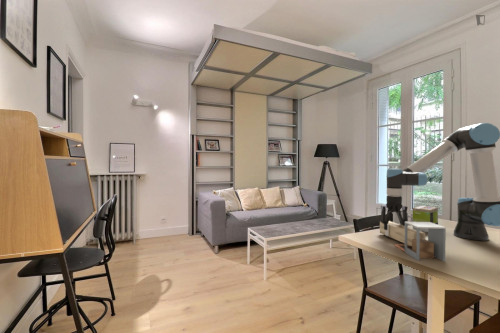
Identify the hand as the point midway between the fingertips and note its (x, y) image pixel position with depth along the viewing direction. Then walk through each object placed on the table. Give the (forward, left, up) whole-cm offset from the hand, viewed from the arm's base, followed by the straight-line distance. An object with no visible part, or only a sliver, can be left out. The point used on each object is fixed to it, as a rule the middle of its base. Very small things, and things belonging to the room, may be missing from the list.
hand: (393, 235), depth 135 cm
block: (0, +25, -2) cm, 25 cm away
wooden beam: (-1, +5, 0) cm, 5 cm away
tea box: (-31, -23, -2) cm, 39 cm away
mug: (-19, -25, -2) cm, 32 cm away
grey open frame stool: (0, +22, -2) cm, 22 cm away
